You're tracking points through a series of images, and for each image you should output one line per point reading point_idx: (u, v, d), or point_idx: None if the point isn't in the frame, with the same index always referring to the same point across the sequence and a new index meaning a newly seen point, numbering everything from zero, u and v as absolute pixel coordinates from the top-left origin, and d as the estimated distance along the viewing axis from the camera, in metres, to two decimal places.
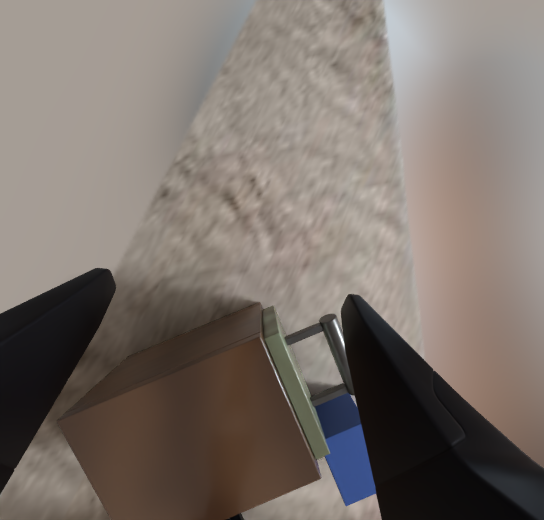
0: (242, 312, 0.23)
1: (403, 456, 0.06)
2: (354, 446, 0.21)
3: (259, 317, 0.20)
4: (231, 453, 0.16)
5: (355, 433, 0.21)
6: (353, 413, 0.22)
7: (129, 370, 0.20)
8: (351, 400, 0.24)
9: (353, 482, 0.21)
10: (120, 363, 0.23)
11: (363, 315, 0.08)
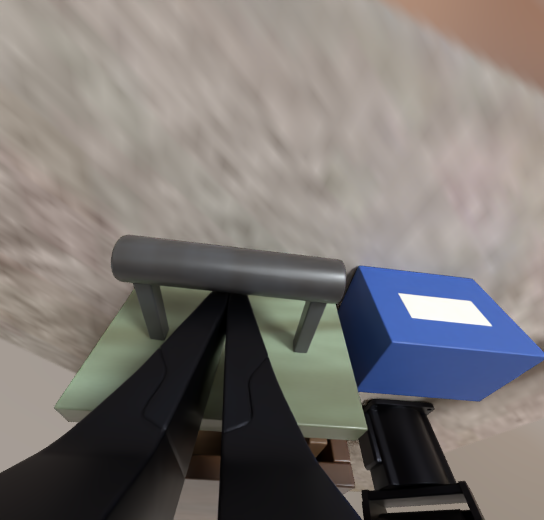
0: None
1: None
2: (412, 367, 0.11)
3: None
4: None
5: (393, 359, 0.10)
6: (375, 324, 0.11)
7: None
8: (368, 294, 0.12)
9: (461, 386, 0.12)
10: None
11: (230, 302, 0.08)
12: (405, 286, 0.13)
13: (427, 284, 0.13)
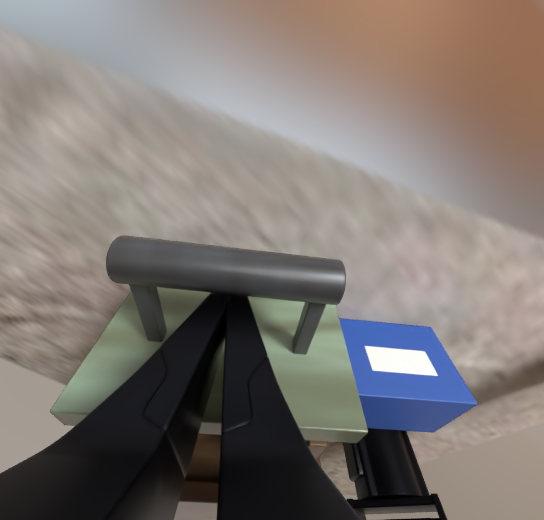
0: None
1: None
2: (373, 410, 0.13)
3: None
4: None
5: None
6: None
7: None
8: None
9: (415, 422, 0.15)
10: None
11: (230, 302, 0.08)
12: (371, 338, 0.15)
13: (390, 335, 0.16)
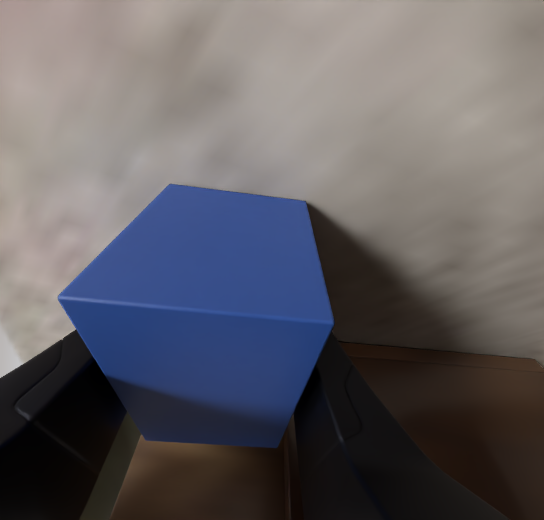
0: None
1: (315, 451, 0.06)
2: (192, 425, 0.07)
3: None
4: None
5: (179, 436, 0.08)
6: None
7: None
8: None
9: (244, 375, 0.05)
10: None
11: None
12: None
13: None
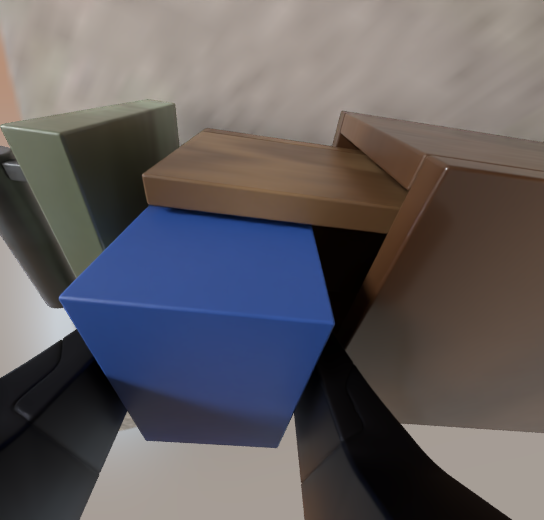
0: None
1: (316, 451, 0.06)
2: (193, 425, 0.07)
3: None
4: (516, 341, 0.07)
5: (179, 436, 0.08)
6: None
7: None
8: None
9: (244, 375, 0.05)
10: None
11: None
12: None
13: None
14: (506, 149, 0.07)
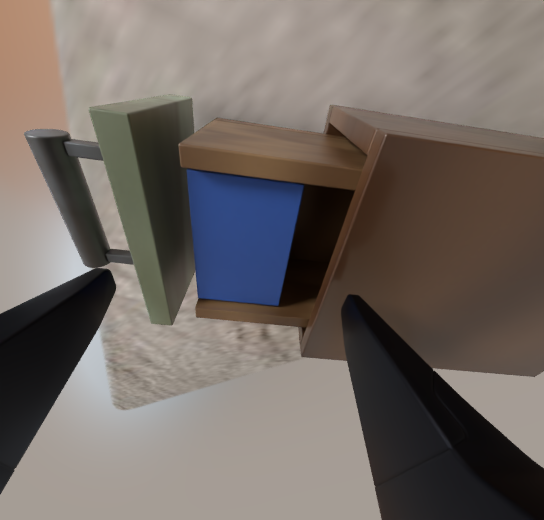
0: None
1: (403, 456, 0.06)
2: (229, 278, 0.12)
3: None
4: (457, 276, 0.10)
5: (219, 292, 0.13)
6: None
7: None
8: None
9: (262, 225, 0.10)
10: None
11: (363, 315, 0.08)
12: None
13: None
14: (449, 131, 0.10)
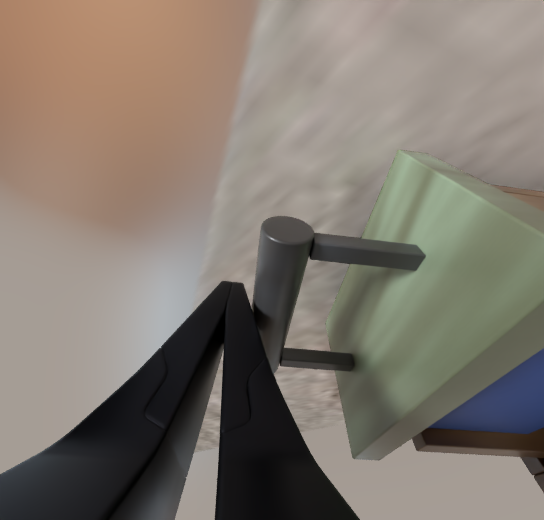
0: None
1: None
2: (495, 413, 0.08)
3: None
4: None
5: (462, 424, 0.09)
6: None
7: None
8: None
9: None
10: None
11: (229, 302, 0.08)
12: None
13: None
14: None
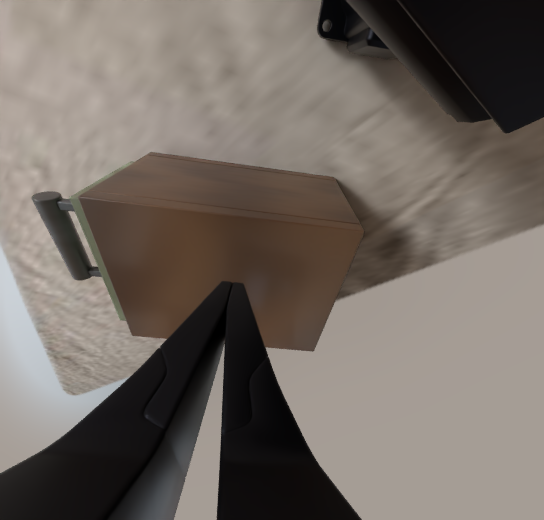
0: None
1: None
2: None
3: None
4: (189, 276, 0.15)
5: None
6: None
7: None
8: None
9: None
10: None
11: (230, 302, 0.08)
12: None
13: None
14: (183, 181, 0.15)
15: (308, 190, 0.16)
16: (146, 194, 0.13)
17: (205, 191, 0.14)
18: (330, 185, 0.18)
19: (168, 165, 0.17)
